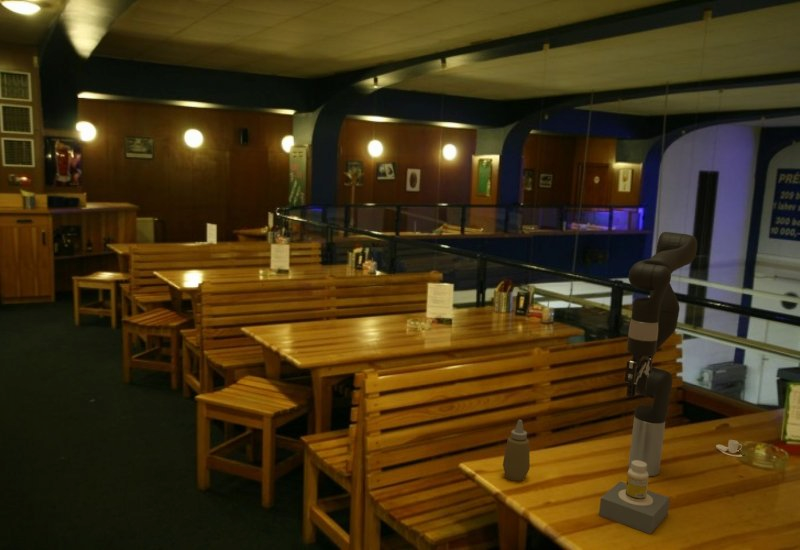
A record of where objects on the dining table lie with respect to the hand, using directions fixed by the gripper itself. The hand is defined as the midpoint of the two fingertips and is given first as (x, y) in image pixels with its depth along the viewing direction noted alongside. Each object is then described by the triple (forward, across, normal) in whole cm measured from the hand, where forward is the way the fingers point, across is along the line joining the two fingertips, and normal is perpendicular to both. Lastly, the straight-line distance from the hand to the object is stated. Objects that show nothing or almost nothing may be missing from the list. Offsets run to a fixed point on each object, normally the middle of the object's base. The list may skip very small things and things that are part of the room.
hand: (636, 393), depth 191 cm
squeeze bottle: (+32, -9, +30) cm, 45 cm away
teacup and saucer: (+33, +65, -12) cm, 74 cm away
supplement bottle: (+27, -6, -5) cm, 28 cm away
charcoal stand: (+32, -6, -5) cm, 33 cm away
